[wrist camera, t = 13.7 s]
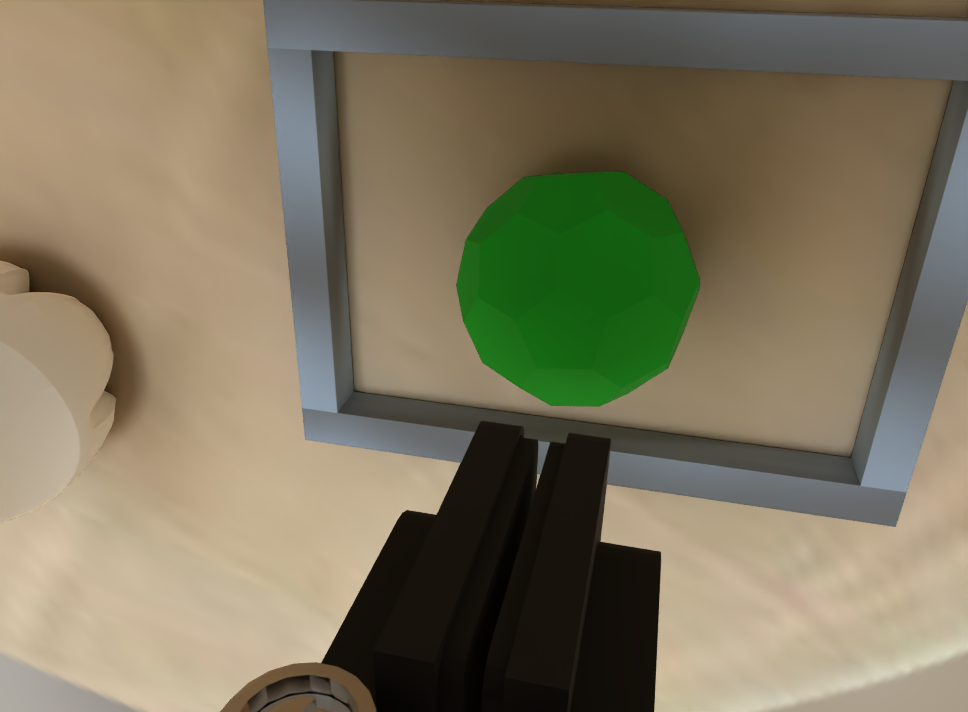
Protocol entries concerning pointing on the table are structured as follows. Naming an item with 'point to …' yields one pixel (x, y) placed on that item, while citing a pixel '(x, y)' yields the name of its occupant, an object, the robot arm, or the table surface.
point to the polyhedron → (577, 286)
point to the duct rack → (644, 42)
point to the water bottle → (48, 392)
